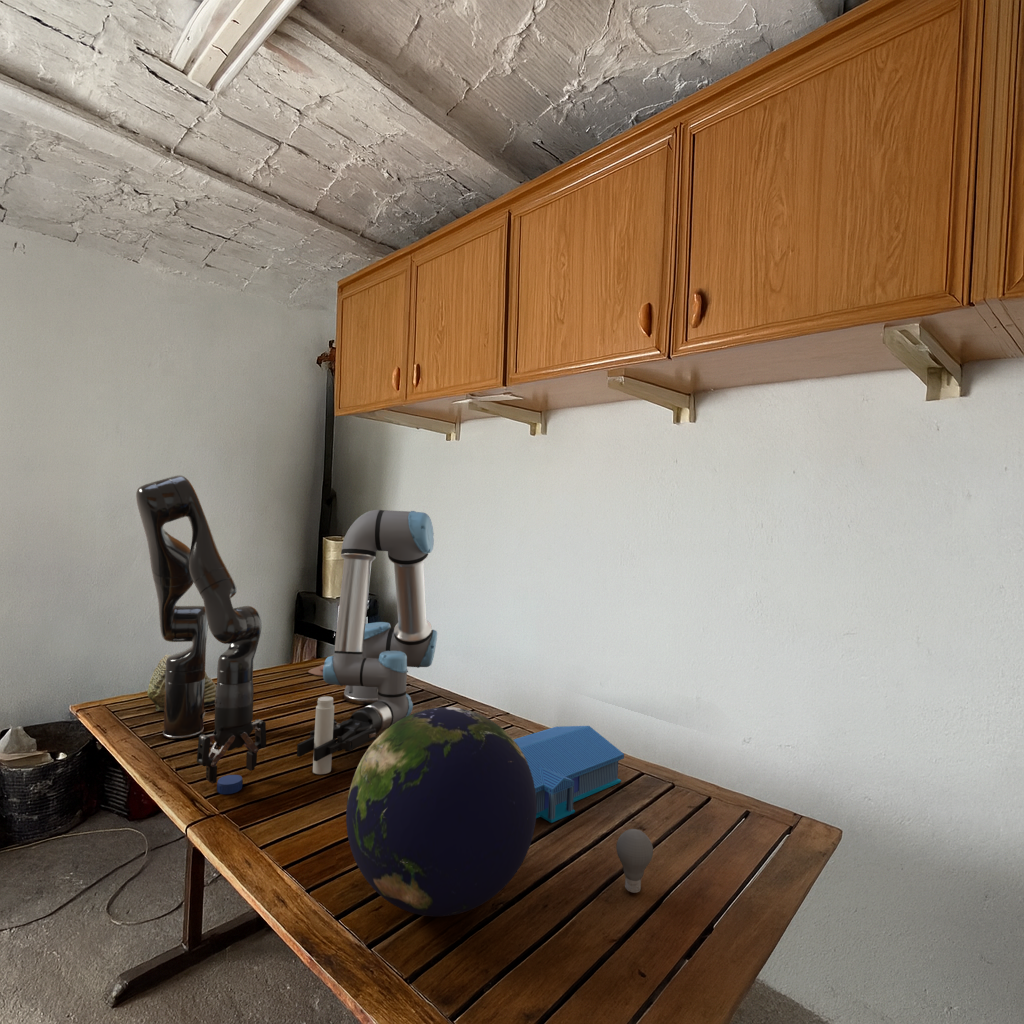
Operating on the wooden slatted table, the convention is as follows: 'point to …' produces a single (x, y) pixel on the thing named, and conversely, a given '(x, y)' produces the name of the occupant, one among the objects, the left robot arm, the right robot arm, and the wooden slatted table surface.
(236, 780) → the lid
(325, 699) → the white tube
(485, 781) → the globe
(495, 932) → the wooden slatted table surface
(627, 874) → the light bulb
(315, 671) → the anatomical model
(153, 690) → the fossil
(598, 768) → the model building
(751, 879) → the wooden slatted table surface
